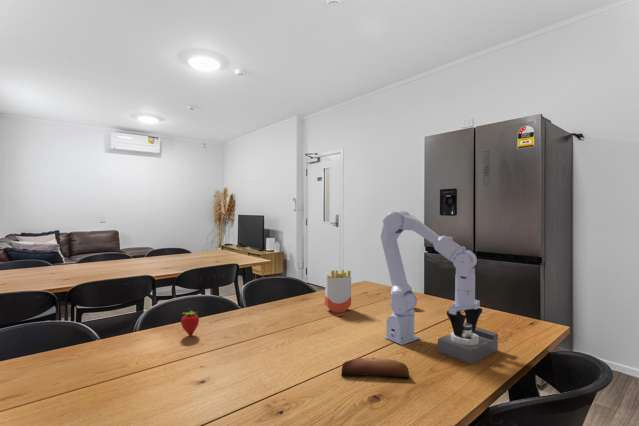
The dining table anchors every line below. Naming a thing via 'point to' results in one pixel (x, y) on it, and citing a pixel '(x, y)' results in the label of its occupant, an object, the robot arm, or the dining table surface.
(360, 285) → the dining table surface
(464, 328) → the lens
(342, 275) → the french fries container
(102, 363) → the dining table surface
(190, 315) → the strawberry
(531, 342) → the dining table surface
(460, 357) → the camera body
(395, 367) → the sunglasses case
